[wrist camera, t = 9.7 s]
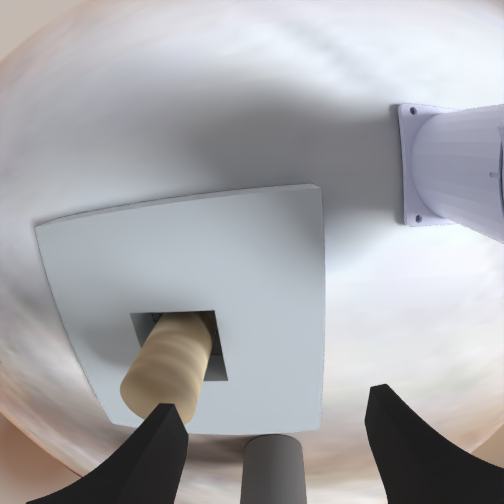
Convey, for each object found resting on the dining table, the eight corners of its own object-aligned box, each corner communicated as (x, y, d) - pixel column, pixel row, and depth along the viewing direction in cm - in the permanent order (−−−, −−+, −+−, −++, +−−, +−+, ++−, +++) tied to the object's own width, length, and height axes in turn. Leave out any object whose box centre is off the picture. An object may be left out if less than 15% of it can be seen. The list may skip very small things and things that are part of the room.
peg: (212, 297, 20) (185, 376, 12) (220, 345, 21) (201, 429, 13) (157, 299, 20) (109, 370, 12) (169, 345, 21) (133, 422, 13)
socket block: (312, 183, 17) (321, 187, 14) (315, 403, 22) (319, 429, 19) (59, 217, 18) (34, 227, 15) (123, 402, 24) (112, 423, 21)
